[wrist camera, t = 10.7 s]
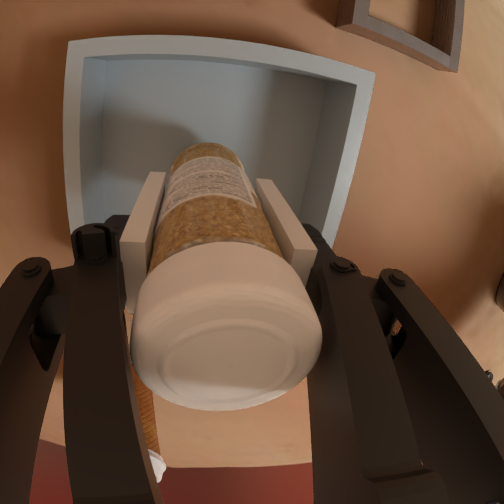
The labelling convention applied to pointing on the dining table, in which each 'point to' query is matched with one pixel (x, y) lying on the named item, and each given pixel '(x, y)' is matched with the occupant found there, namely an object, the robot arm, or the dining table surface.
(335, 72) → the bin
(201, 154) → the sprinkles bottle
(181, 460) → the dining table surface
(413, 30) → the dining table surface
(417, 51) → the collar
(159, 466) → the disposable coffee cup
